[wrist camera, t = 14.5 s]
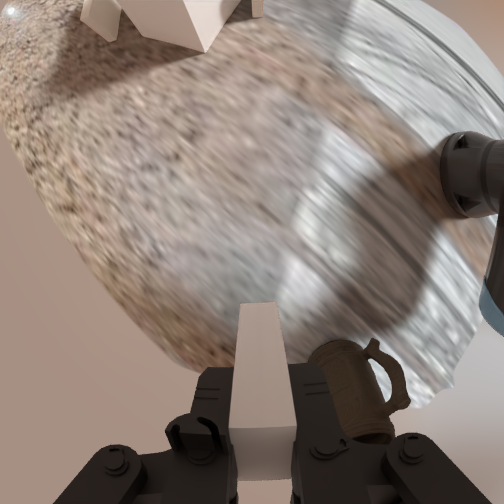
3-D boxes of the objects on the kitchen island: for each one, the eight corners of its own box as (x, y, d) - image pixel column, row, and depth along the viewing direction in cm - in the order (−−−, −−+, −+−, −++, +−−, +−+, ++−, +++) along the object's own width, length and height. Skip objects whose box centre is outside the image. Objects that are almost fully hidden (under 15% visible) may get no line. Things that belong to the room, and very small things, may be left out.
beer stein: (342, 390, 49) (370, 470, 30) (294, 379, 48) (309, 468, 28) (385, 327, 45) (439, 401, 26) (336, 310, 44) (381, 392, 25)
